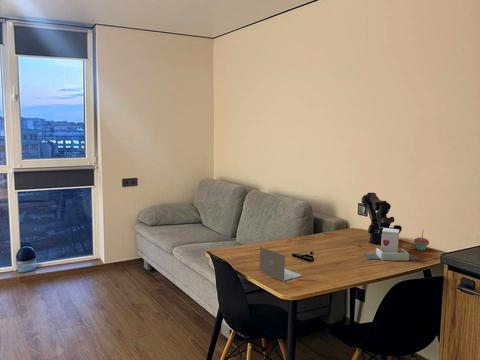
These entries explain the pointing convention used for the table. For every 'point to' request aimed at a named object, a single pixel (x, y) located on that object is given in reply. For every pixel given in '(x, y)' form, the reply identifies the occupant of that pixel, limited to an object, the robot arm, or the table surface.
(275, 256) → the laptop
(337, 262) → the table surface
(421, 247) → the cupcake
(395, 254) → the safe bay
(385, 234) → the supplement box
